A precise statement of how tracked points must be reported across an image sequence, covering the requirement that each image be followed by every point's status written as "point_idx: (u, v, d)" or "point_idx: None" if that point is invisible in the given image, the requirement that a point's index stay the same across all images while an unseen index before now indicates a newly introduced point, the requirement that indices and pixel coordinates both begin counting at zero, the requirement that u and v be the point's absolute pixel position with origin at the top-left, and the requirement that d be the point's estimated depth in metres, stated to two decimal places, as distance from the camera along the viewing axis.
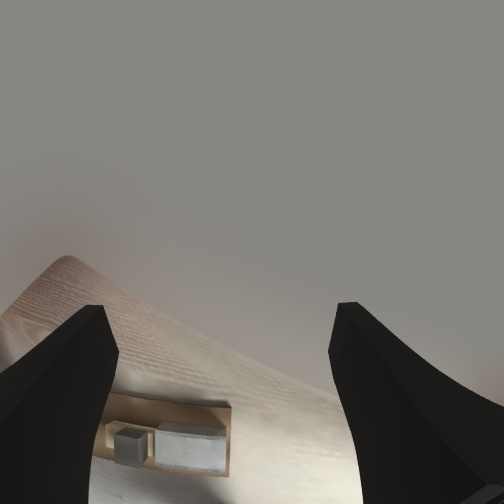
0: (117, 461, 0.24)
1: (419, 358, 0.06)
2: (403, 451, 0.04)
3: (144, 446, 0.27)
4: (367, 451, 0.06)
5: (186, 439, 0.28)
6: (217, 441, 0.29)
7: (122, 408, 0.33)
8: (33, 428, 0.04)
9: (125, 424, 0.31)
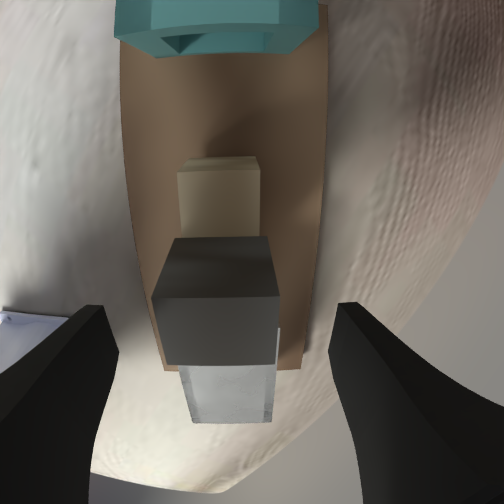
0: (162, 307, 0.08)
1: (419, 358, 0.06)
2: (403, 451, 0.04)
3: None
4: (367, 451, 0.06)
5: (261, 379, 0.15)
6: (261, 414, 0.16)
7: (290, 171, 0.15)
8: (33, 428, 0.04)
9: None
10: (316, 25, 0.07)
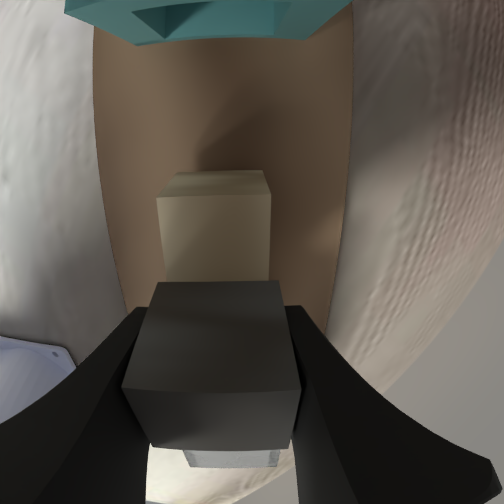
0: (138, 398, 0.06)
1: (349, 370, 0.06)
2: (319, 469, 0.04)
3: None
4: (301, 462, 0.06)
5: None
6: (266, 461, 0.13)
7: (306, 187, 0.12)
8: (102, 447, 0.04)
9: None
10: None
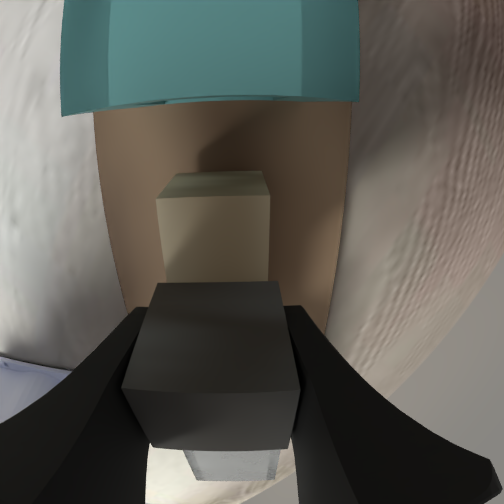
0: (138, 398, 0.06)
1: (349, 369, 0.06)
2: (319, 469, 0.04)
3: None
4: (300, 462, 0.06)
5: (265, 453, 0.13)
6: (264, 475, 0.14)
7: (301, 244, 0.13)
8: (102, 446, 0.04)
9: None
10: (355, 98, 0.05)
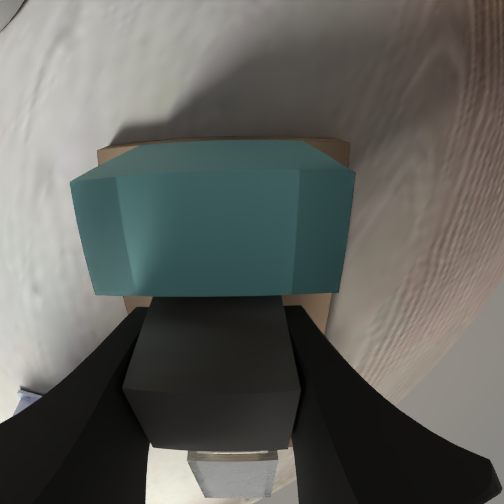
0: (138, 398, 0.06)
1: (349, 370, 0.06)
2: (319, 469, 0.04)
3: None
4: (300, 462, 0.06)
5: (262, 480, 0.15)
6: (261, 494, 0.16)
7: None
8: (102, 446, 0.04)
9: None
10: (336, 290, 0.07)
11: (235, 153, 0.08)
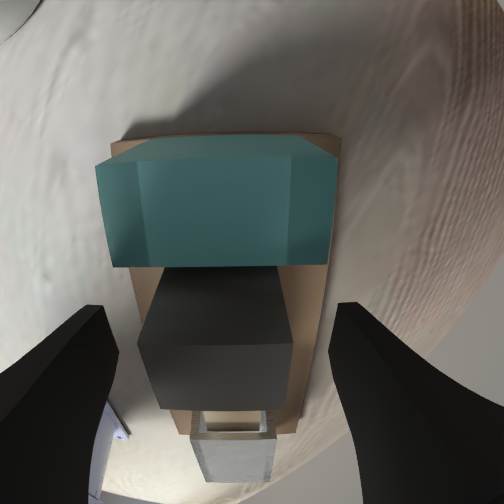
0: (151, 353, 0.07)
1: (419, 358, 0.06)
2: (403, 451, 0.04)
3: None
4: (367, 451, 0.06)
5: (261, 462, 0.16)
6: (261, 478, 0.18)
7: (291, 308, 0.16)
8: (33, 428, 0.04)
9: None
10: (325, 262, 0.09)
11: (237, 144, 0.09)
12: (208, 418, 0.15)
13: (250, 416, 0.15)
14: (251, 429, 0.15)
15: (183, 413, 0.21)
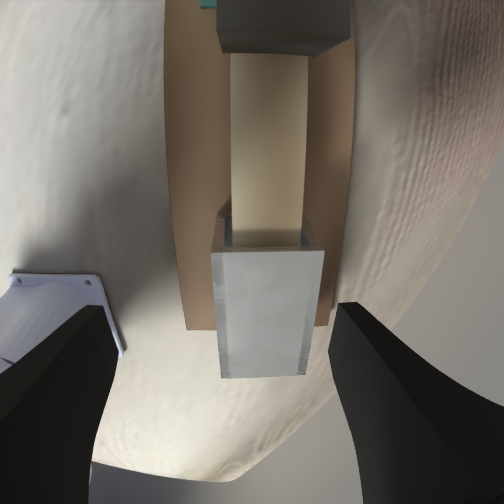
0: None
1: (419, 358, 0.06)
2: (403, 451, 0.04)
3: (279, 46, 0.09)
4: (367, 451, 0.06)
5: (301, 316, 0.14)
6: (295, 364, 0.16)
7: (324, 113, 0.15)
8: (33, 428, 0.04)
9: None
10: None
11: None
12: (237, 221, 0.13)
13: (291, 216, 0.13)
14: None
15: (195, 286, 0.19)
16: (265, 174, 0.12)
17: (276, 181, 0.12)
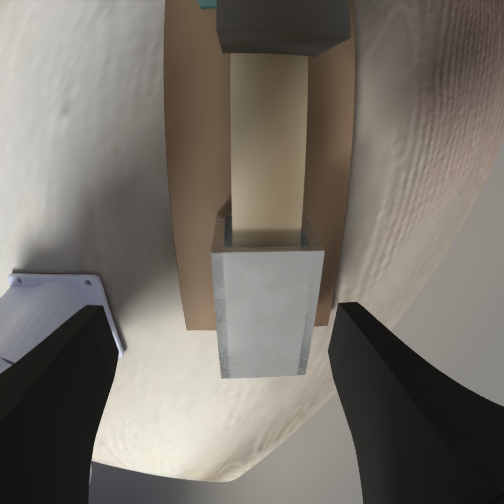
0: None
1: (419, 358, 0.06)
2: (403, 451, 0.04)
3: (279, 46, 0.09)
4: (367, 451, 0.06)
5: (301, 316, 0.14)
6: (295, 364, 0.16)
7: (324, 113, 0.15)
8: (33, 428, 0.04)
9: None
10: None
11: None
12: (237, 221, 0.13)
13: (291, 216, 0.13)
14: None
15: (195, 286, 0.19)
16: (265, 174, 0.12)
17: (276, 181, 0.12)
